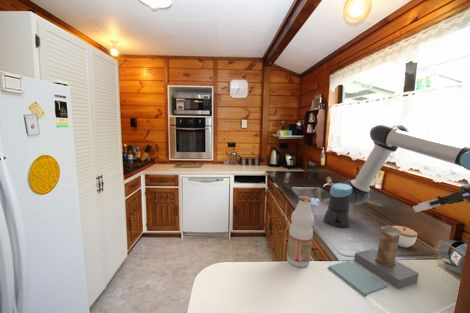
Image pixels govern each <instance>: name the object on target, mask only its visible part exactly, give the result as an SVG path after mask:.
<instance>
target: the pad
mask: <svg viewBox="0 0 470 313" xmlns="http://www.w3.org/2000/svg"><path fill="white" fill-rule="evenodd" d="M327 267H328V270H329V271H331V272H333V274H335V275H336V276H337V277H338V278H340V279H341V280H342V281H343V282H345V283H346V284H348V285H349V286H350V287H351V288H353V289H354V290H355V291H357V292H358V293H359V294H361V295H362V296H363V297H367V296H368V295H370V294H372V293H375V292H377V291H380V290H383V289H386V288H387V287H388V285H386V284H385V283H383V282H382V281H381V280H380V279H378V278H376V277H375V276H373V275H371V274H370V273H369V272H367V271H366V270H364V269H363V268H361V267H359V266H358V265H357V264H355V263H354V262H352V261H350V260H347V261H346V260H345V261H343V262H338V263H335V264H331V265H328V266H327Z"/></svg>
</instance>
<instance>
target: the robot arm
mask: <svg viewBox="0 0 470 313" xmlns="http://www.w3.org/2000/svg"><path fill="white" fill-rule="evenodd" d="M370 129H371V130H370V132H369V137H370V139H371V140H372V142H373V145H374V146H373V148H372V150H371V152H370V153H369V155H368V157H367V158H366V160H365V162H364V164H363V165H362V166H361V168H360V170H359V172H358V173H357V175H356V176H355V179H351V180H350V182H349V183H348V184H346V183H334V184H332V185H331V186H330V189H329V190H330V191H329V197H328V198H329V199H328V205H327V209H326V211H325V214H324V215H323V221H324V223H325V224H327V225H329V226H331V227H335V228H339V229H347V228H350V227H351V223H352V222H351V219H350V207H351V206H356V205H361V204H364V203H366V202H367V201H369V199H370V196H371V193H370V192H371V188H370V186H371V184H373V181H374V180H375V178H376V177H377V175H378V174H379V172H380V170H381V169H382V168H383V165H384V164H385V162H387V159H388V157H389V156H390V154H391V153H394V152H396V151H397V150H398V148H400V149H404V150H406V151H409V152H413V153H417V154H421V155H424V156H426V157H430V158H433V159H436V160H437V159H438V160H440V161H444V162H446V163H450V164H453V165H456V166H459V167H462V168H464V169H465V170H468V171H470V147H467V146H464V145H459V144H455V143H453V142H452V143H451V142H447V141H443V140H439V139H435V138H431V137H427V136H422V135H418V134H415V133H411V132H409V129H408V128H407V127H406V126H405V125H403V124H400V123H397V122H387V121H386V122H385V121H384V122H377V123H376V124H375V125H373V126H372V127H371V128H370ZM459 191H460V192H459ZM459 191H456V192H452V193H450V194H448V195H445V196H441V195H438V196H436V198H434V199H430V200H426V201H423V202H419V203H417V205H413V206H412V209H413V210H414V212H415V213H418V212H422V211H427V210H429V209H432V210H435V209H436V208H437V207H440V206H444V205H447V204H448V205H452V204H459V203H463V202H465V200H466V202H467V203H469V204H470V183H466V184H464V185H460V187H459Z"/></svg>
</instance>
